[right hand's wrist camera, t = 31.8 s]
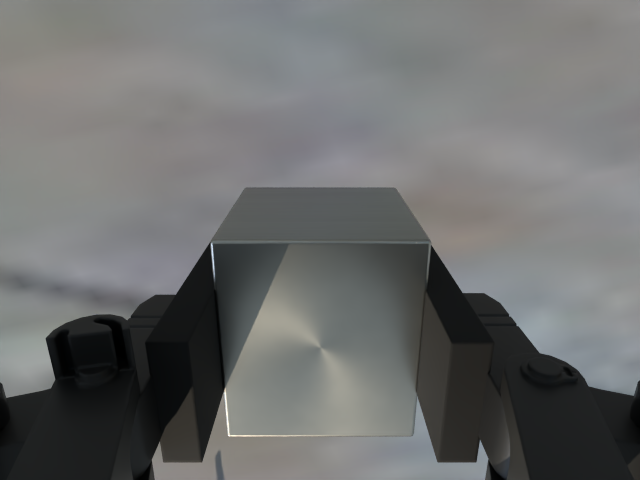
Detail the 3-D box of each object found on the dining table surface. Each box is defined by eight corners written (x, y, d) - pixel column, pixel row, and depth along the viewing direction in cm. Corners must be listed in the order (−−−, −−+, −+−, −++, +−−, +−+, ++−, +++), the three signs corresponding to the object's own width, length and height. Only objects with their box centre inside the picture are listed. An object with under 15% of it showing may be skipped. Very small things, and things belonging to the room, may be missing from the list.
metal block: (387, 334, 16) (414, 438, 11) (253, 334, 16) (226, 437, 11) (396, 186, 14) (432, 240, 9) (244, 186, 14) (209, 240, 9)
